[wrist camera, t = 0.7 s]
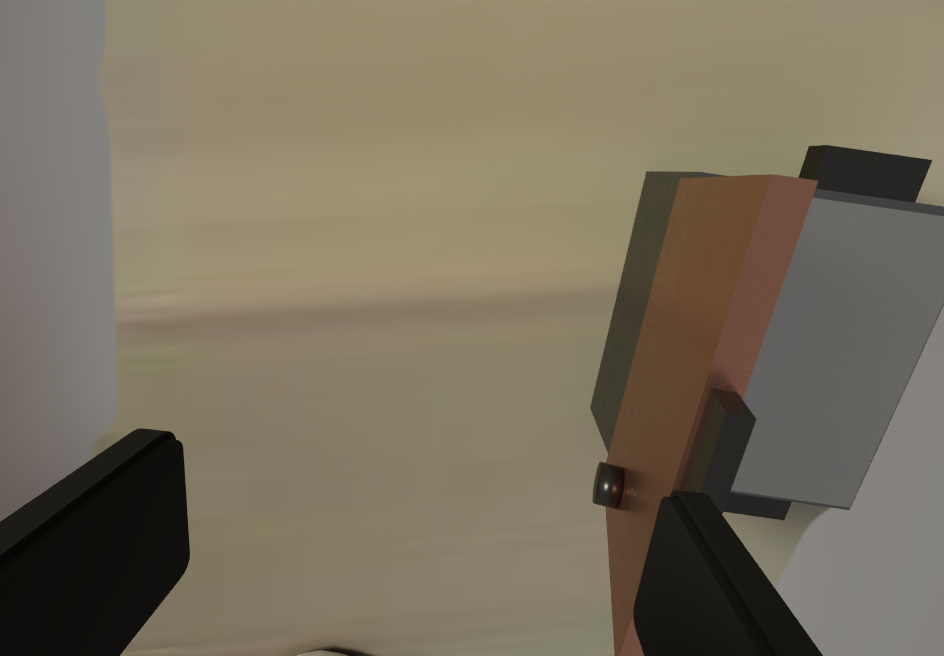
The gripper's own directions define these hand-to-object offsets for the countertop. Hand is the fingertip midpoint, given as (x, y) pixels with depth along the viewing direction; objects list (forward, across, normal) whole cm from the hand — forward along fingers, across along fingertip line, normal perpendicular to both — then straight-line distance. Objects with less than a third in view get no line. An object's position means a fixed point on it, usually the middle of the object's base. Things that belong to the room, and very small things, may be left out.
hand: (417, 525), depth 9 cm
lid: (+13, -11, +2) cm, 17 cm away
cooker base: (+31, -20, +1) cm, 37 cm away
